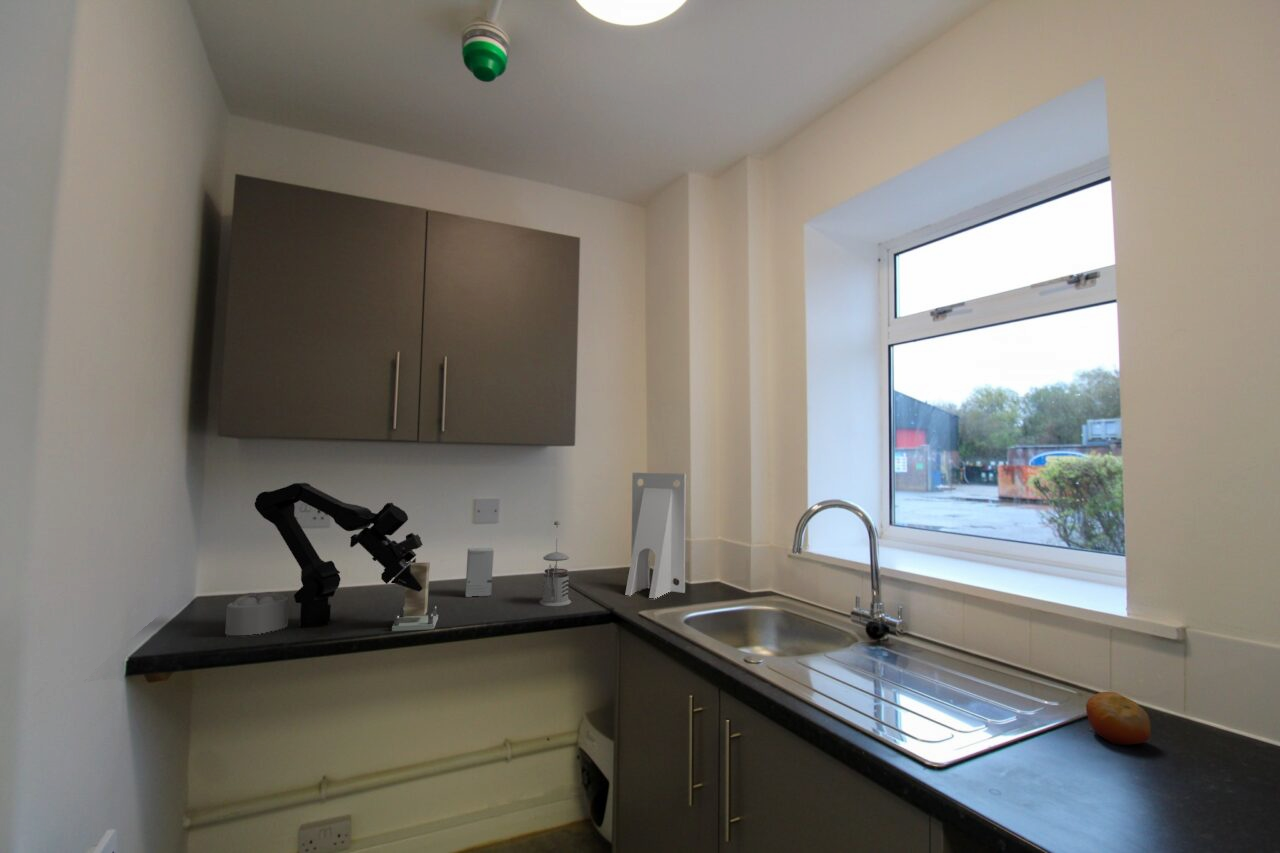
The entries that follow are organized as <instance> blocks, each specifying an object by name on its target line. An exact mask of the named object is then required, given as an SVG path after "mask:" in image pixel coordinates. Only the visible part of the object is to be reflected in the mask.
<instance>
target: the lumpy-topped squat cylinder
mask: <svg viewBox="0 0 1280 853" xmlns="http://www.w3.org/2000/svg"><path fill="white" fill-rule="evenodd" d="M289 604H290V598H289V597H287V596H284V595H283V594H281V593H275V592H272V591H268V592H266V591H265V592H263V593H260V594H256V593H255V592H249V593H246V594H245V595H243V596H239V597H237V598H236V599H235V600H234V601H232V602H229V603H228V604H227V606H226V612H225V630H224V635H225V634H228V635H251V636H253V635H252V634H259V635H262V634H261V633H263V634H267V633H266V632H268V633H271V632H270V631H272V632H275V630H276V631H279V629H280V630H283V629H285V627H286V628H287V627H288V625H289V613H290V612H289V609H290V608H289V606H290V605H289ZM282 628H283V629H282Z"/></svg>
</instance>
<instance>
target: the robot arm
mask: <svg viewBox="0 0 1280 853" xmlns="http://www.w3.org/2000/svg"><path fill="white" fill-rule="evenodd" d="M300 501H301V502H303V503H304V504H306V505H308V506H310V507H312V508H314V509H316V510H318V511H320V512H321V513H324V514H325V515H328V516H330V517H331V518H332V519H333V522H334V523H335V524H336V525H337V526H339V527H340V528H342V529H343V530H345V531H346V532H354V531H359V530H361V531H359V532H358V533H357V534H356V533H355V534H354V533H353V535H351V536H350V545H349V547H350V548H353V547H355V546H356V545H358V544H359V545H360V546H361V547H362V548H363V549H364V550H366V552H368V554H369V555H371V556H372V558H371V560H372V561H373V562H378V563H379V564H380V565H381V567H383V568H384V569H383V572H382V573H381V577H380V578H381V580H382V581H383V583H385V585H388V583H389V582H390V583H391V584H395V585H398V586H401V587H404V588H406V587H407V588H410V589H413V590H416V591H419V592H420V591H421V590H422V587H421V585H420V584H419V583H418V581H417V580H416V579H415V577H414V576H413V574H412V573H411V564H409V563H417V558H416V556H417V553H416V552H415V551H413V550H417V549H419V548H421V547H422V546H423V542H422V541H421V539H422V538H421V536H419V534H415V533H414V532H411V533H408V534H406V535H405V539H404V540H402V541H400V542H397V541H396V540H393V539H392V540H391V539H390V538H389V537H387V536H392V535H394V534H395V533H396V532H397V531H398V530H399V529H400V528H401V527H403V526H404V525H405V523H407V521H408V520H409V517H408V515H407V513H406V511H405V510H403V509H402V508H400V507H399V506H397V505H395V504H394V503H393V502H387V503H385V505H383V507H382V508H381V509H380V511H378V512H377V513H375V512H373V511H372V510H371V509H369V508H368V507H365V506H362V505H361V506H360V505H358V504H353V503H348V502H347V503H346V502H343V501H341V500H339V499H338V498H335V497H333V496H332V495H329V494H327V493H326V492H324V491H322V490H319V489H317V487H314V486H312V485H311V484H310V483H307V482H295V483H292V484H290V485H287V486H285V487H282V488H277V489H275V490H269V491H268V490H267V491H261V492H260V493H259V494H258V495H257V496H256V498H255V502H254V507H255V510H256V511H257V512H258V513H259V515H261V517H262V518H263V519H265V520H267V521H268V522H270V523H271V524H273V525H274V526H275V528H276V530H277V531H278V532H279V534H280V536H281V538H282V540H283V541H284V542H285V544H286V545H287V548H288V549H289V551H290V552H291V554H292V555H293V556H292V557H293V558H294V559H295V561H296V563H297V564H298V566H299V568H300V569H301V570H300V581H301V584H302V586H301V587H300V588H299V589H298V590H297V591H296V592H295V593H294V594H293V597H294V602H295V603H296V604H300V614H299V615H300V616H299V617H300V619H299V625H298V627H299V628H307V627H317V626H325V625H326V626H327V625H328V624H329V621H331V607H332V604H331V602H329V598H332V597H334V596H335V593H336V591H337V590H338V588H339V586H340V584H341V581H342V580H341V577H340V573H341V572H340V571H339V570H338V569H337V568H336V565H335V563H334V562H333V561H332V560H328V561H324V560H323V559H322V558H320V556H319V554H318V553H317V551H316V549H315V548H314V546H313V544H312V542H311V541H310V539H309V538H308V536H307V534H306V532H305V531H304V530H303V528H302V526H301V523H300V522H299V521H298V519H297V518H296V516H295V510H296V507H295V506H296V505H295V504H297V503H298V502H300ZM371 525H372V526H371ZM370 526H371V527H370ZM408 564H409V565H408ZM407 565H408V566H407Z"/></svg>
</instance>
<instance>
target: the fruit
mask: <svg viewBox="0 0 1280 853" xmlns="http://www.w3.org/2000/svg"><path fill="white" fill-rule="evenodd" d="M1085 710H1086V714H1087V719H1088V722H1089V724H1090V726H1091V728H1089V730H1088V731H1094V732H1095V733H1096V734H1097V735H1099V737H1100V738H1102V739H1105V740H1107V741H1108V742H1109V743H1111V744H1113V745H1118V746H1121V745H1122V746H1129V745H1131V746H1132V745H1139V744H1142V743H1144V742H1147V741H1148V740H1149V739H1150V738H1151V736H1152V735H1151V731H1152V730H1151V728H1152V724H1151V721H1150V716H1149V715H1148V713H1147V712H1146V711H1145V710H1144V708H1142V707H1140V705H1139V704H1138V703H1137V702H1136V701H1134V700H1133V699H1130V698H1128V697H1126V696H1124V695H1121V693H1118V692H1116V691H1102V692H1098V693H1096V694H1094V695H1092V696H1091V697H1089V698H1088V700H1087V702H1086V705H1085Z"/></svg>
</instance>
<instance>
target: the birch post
mask: <svg viewBox="0 0 1280 853" xmlns="http://www.w3.org/2000/svg"><path fill="white" fill-rule="evenodd" d="M409 564H411V573H412V574H413V576H414V577H415V579H416V580H417V581H418V583H419V584H420V585H421V587H422V590H421V591H420V592H419V591H416V590H413V589H410V588H407V587H404V588H405V589H404V590H405V592H404V606H403V607H404V617H406V616H425V615H427V613H428V604H429V603H428V601H429V599H428V598H429V586H430V584H429V582H430V564H431V562H416V563H409ZM409 564H408V565H409ZM408 565H407V566H408Z"/></svg>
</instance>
